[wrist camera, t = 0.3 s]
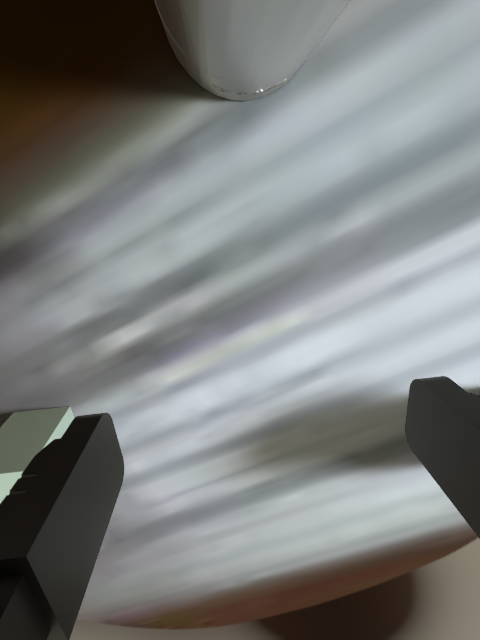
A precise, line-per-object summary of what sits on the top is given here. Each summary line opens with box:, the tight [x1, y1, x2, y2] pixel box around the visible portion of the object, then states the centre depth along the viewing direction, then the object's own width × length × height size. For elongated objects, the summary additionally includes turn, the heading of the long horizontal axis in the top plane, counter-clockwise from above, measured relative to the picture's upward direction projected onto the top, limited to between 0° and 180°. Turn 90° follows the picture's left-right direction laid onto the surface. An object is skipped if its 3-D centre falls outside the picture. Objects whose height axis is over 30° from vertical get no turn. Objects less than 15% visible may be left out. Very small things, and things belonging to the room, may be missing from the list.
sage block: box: [0, 406, 74, 504], centre depth 27 cm, size 5×5×7 cm
